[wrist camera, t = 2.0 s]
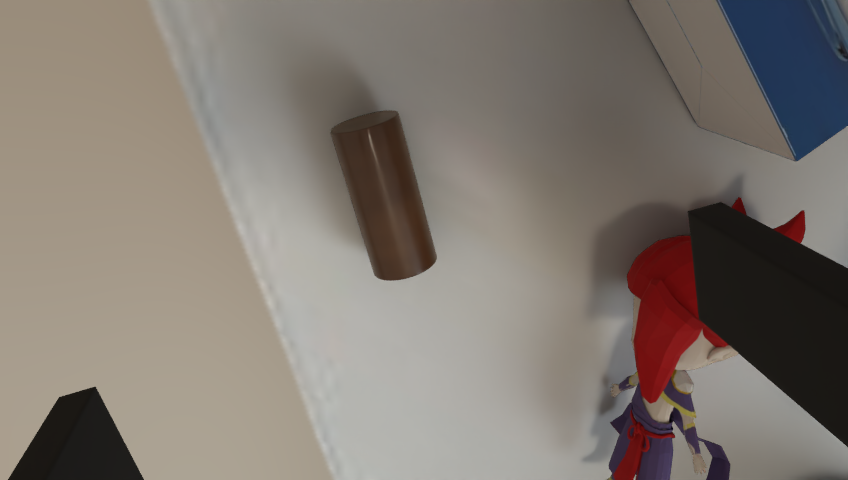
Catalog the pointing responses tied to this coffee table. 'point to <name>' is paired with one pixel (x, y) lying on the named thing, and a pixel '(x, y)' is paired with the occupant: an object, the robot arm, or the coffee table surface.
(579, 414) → the coffee table surface
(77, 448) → the robot arm
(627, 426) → the figurine
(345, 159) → the brown cylinder
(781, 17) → the milk carton
